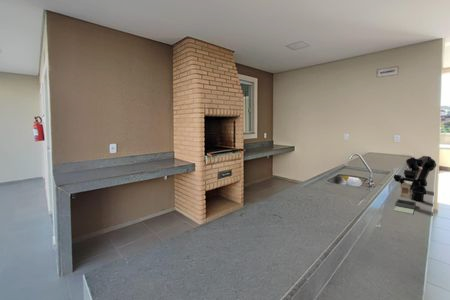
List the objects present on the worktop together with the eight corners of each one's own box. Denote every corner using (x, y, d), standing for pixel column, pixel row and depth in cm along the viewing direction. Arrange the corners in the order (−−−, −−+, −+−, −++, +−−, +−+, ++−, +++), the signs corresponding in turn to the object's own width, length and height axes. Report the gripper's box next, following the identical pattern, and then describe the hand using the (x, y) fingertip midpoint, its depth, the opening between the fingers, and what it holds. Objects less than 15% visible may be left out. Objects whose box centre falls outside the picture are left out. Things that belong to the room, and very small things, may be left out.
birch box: (403, 195, 164) (404, 182, 163) (411, 197, 160) (412, 184, 159) (400, 197, 162) (401, 183, 161) (408, 198, 157) (409, 185, 156)
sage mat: (395, 207, 160) (395, 206, 160) (413, 210, 153) (413, 209, 153) (393, 211, 153) (393, 209, 153) (412, 214, 146) (412, 213, 146)
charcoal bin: (397, 202, 169) (397, 199, 169) (415, 206, 162) (416, 202, 161) (395, 206, 161) (395, 202, 161) (414, 210, 154) (414, 206, 154)
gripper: (395, 164, 169) (387, 180, 164) (427, 167, 153) (419, 185, 148) (399, 173, 173) (392, 188, 169) (430, 177, 158) (423, 194, 153)
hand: (405, 189), depth 159 cm, fingers closed on birch box, 5 cm apart
